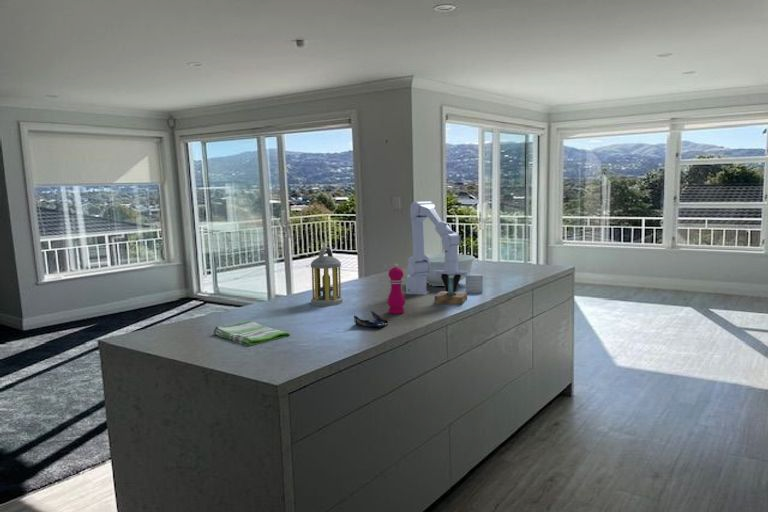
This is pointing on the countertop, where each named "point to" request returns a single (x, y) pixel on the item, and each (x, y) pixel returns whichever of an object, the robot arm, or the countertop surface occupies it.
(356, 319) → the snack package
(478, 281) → the medicine box
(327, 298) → the lantern
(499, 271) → the countertop surface
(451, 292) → the peg
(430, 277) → the bowl
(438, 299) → the socket block
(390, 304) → the pepper mill
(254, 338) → the dish towel
